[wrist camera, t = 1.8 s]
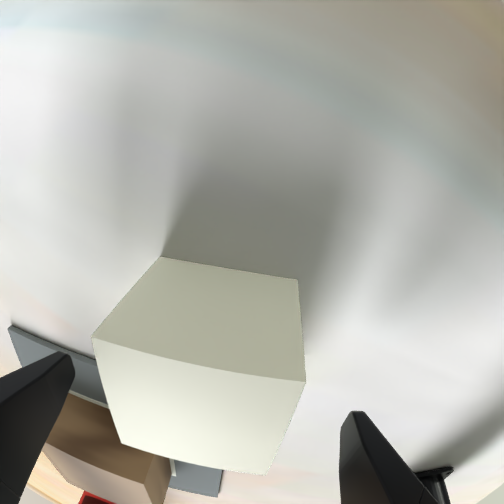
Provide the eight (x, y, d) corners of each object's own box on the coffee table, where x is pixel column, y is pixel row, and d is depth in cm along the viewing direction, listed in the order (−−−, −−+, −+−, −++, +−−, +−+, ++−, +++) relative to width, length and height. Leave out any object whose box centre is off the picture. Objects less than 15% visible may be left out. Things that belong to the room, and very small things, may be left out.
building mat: (235, 395, 13) (233, 402, 13) (218, 493, 18) (217, 498, 18) (11, 325, 13) (6, 329, 13) (66, 445, 19) (64, 448, 18)
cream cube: (297, 278, 11) (306, 382, 6) (272, 377, 13) (265, 475, 8) (160, 255, 11) (90, 336, 6) (162, 356, 13) (121, 443, 8)
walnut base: (164, 426, 14) (143, 484, 10) (171, 474, 17) (158, 517, 13) (60, 389, 14) (30, 433, 10) (87, 444, 17) (67, 482, 13)
